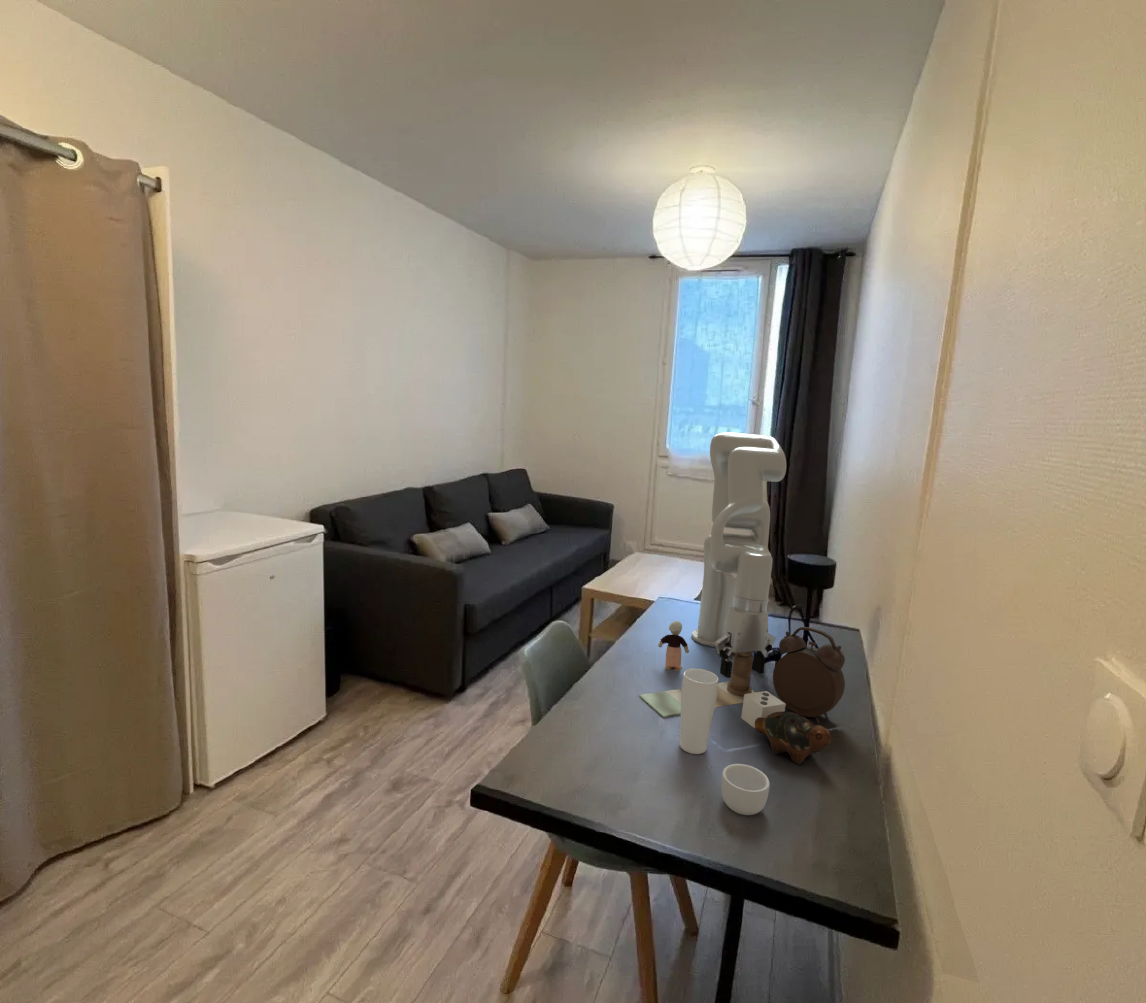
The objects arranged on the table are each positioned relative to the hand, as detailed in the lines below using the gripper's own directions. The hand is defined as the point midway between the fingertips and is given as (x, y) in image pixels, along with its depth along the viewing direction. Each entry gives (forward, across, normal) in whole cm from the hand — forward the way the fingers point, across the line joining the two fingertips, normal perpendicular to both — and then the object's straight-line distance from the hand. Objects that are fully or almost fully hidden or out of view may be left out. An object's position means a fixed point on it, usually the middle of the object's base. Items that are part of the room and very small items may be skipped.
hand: (741, 673), depth 146 cm
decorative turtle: (+6, +7, +24) cm, 26 cm away
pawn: (+4, 0, 0) cm, 5 cm away
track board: (+5, +10, 0) cm, 11 cm away
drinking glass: (+6, +25, +17) cm, 31 cm away
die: (+5, +5, +14) cm, 15 cm away
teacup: (+6, +27, +34) cm, 44 cm away
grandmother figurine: (+5, +8, -16) cm, 19 cm away
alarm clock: (+5, -8, +13) cm, 16 cm away
